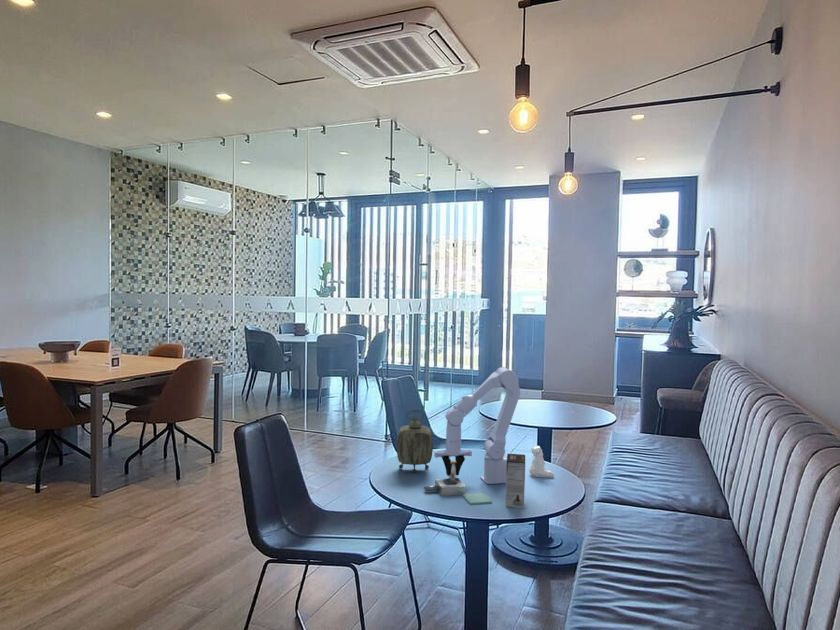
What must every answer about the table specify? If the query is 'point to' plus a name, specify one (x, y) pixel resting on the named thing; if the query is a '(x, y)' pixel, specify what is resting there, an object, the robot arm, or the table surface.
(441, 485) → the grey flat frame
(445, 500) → the table surface
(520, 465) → the coffee box
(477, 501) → the mat
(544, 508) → the table surface
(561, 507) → the table surface
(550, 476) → the white creature statuette
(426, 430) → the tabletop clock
